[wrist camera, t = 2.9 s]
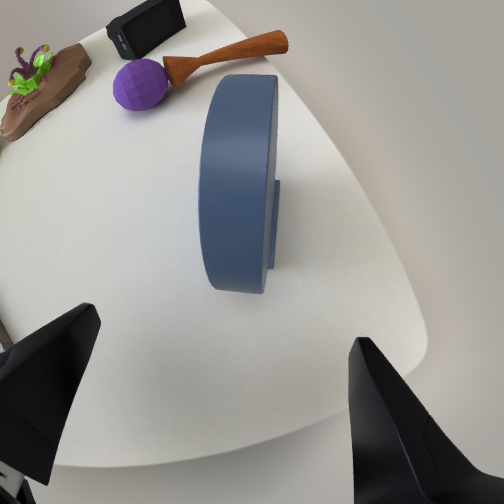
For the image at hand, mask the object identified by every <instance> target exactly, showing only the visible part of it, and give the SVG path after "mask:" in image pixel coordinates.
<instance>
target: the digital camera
mask: <svg viewBox="0 0 504 504" xmlns="http://www.w3.org/2000/svg"><path fill="white" fill-rule="evenodd" d="M184 27H186V24H185V21H184V17H183V13H182V10H181V6H180V2H179V0H147V1H145V2H143V3H142V4H140V5H138V6H137V7H135V8H134V9H132V10H130V11H128V12H127V13H125V14H124V15H122V16H119V17H116V18H115V19H113V20H112V21H111V22H110V24H109V25H107V26H106V29H107V35H108V37H109V39H110V40H112V41H113V43H114V45H115V47H116V49H117V51H118V53H119V55H120V57H121V58H122V59H127V60H133V61H134V60H137V59H141V58H142V57H143V56H145V55H146V54H147V53H148V52H150V51H151V50H152V49H154V48H155V47H157V46H158V45H159V44H161V43H162V42H163V41H165V40H166V39H168V38H169V37H171V36H172V35H174V34H175V33H177V32H178V31H180V30H181V29H183V28H184Z"/></svg>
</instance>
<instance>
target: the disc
mask: <svg viewBox="0 0 504 504" xmlns="http://www.w3.org/2000/svg"><path fill="white" fill-rule="evenodd" d="M277 129H278V78H277V76H276V75H253V74H235V75H227V76H225V77H224V78H223V79H222V80H221V81H220V83H219V84H218V86H217V88H216V90H215V93H214V95H213V98H212V101H211V104H210V107H209V111H208V115H207V119H206V124H205V129H204V135H203V141H202V148H201V157H200V168H199V184H198V214H199V232H200V243H201V250H202V256H203V261H204V266H205V270H206V273H207V276H208V279H209V281H210V283H211V285H212V286H213V287H214V288H215V289H217V290H225V291H234V292H244V293H255V294H263V292H264V288H265V282H266V275H267V269H273V267H274V256H275V244H276V231H277V218H278V205H279V191H280V181H279V180H275V170H276V152H277Z"/></svg>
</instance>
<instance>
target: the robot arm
mask: <svg viewBox="0 0 504 504" xmlns="http://www.w3.org/2000/svg"><path fill="white" fill-rule="evenodd" d="M100 326H101V320H100V318H99V315H98V313H97V310H96V308H95V306H94V305H93V304H90V303H82V304H80V305H78V306H77V307H75V308H73V309H72V310H70V311H68V312H67V313H65V314H63V315H61V316H60V317H58V318H56V319H55V320H53V321H51V322H50V323H48V324H46V325H45V326H43V327H42V328H40V329H38V330H37V331H35V332H33V333H32V334H30V335H29V336H27V337H25V338H24V339H22V340H21V341H19V342H17V343H16V344H14V346H11V347H9V348H8V349H6V350H5V351H3V352H2V353H0V504H36V503H35V500H34V498H33V495H32V492H31V489H30V487H29V484H28V481H27V480H26V479H25V478H24V477H25V475H26V476H28V477H30V478H31V479H33V480H35V481H37V482H40V483H42V484H44V485H46V486H47V485H48V483H49V479H50V475H51V470H52V467H53V463H54V459H55V456H56V452H57V449H58V445H59V441H60V438H61V435H62V432H63V429H64V426H65V423H66V420H67V417H68V414H69V411H70V408H71V405H72V403H73V400H74V397H75V394H76V392H77V389H78V387H79V384H80V382H81V379H82V377H83V374H84V372H85V369H86V367H87V364H88V362H89V359H90V356H91V353H92V350H93V347H94V344H95V341H96V338H97V335H98V332H99V329H100ZM348 361H349V391H348V400H349V412H350V424H351V436H352V451H353V475H354V504H504V479H503V478H500V477H496V476H492V475H488V474H485V473H483V472H481V471H480V470H478V469H477V468H476V467H474V466H473V465H472V464H471V462H470V461H469V460H468V459H467V458H466V457H465V456H464V455H463V454H462V453H461V451H460V450H459V449H458V448H457V447H456V446H455V445H454V444H453V443H452V442H451V440H450V439H449V438H448V437H447V436H446V435H445V434H444V432H443V431H442V430H441V428H440V427H439V426H438V425H437V423H436V422H435V421H434V419H433V418H432V417H431V415H429V413H428V411H427V410H426V409H425V407H424V406H423V405H422V403H421V402H420V401H419V399H418V398H417V397H416V395H415V394H414V393H413V392H412V390H411V389H410V388H409V386H408V385H407V384H406V383H405V381H404V380H403V379H402V377H401V376H400V375H399V374H398V372H397V371H396V370H395V369H394V367H393V366H392V365H391V363H390V362H389V361H388V360H387V358H386V357H385V356H384V355H383V353H382V352H381V351H380V350H379V349H378V347H377V346H376V345H375V344H374V342H373V341H372V340H371V339H370V338H369V337H357V338H356V339H355V341H354V344H353V346H352V348H351V351H350V353H349V359H348Z"/></svg>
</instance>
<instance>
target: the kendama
mask: <svg viewBox="0 0 504 504" xmlns="http://www.w3.org/2000/svg"><path fill="white" fill-rule="evenodd" d="M288 46H289V45H288V40H287V37H286V36H285V34H284V33H283V32H282V31H280V30H276V31H273V32H269V33H265V34H262V35H258V36H255V37H252V38H249V39H246V40H243V41H240V42H237V43H234V44H231V45H228V46H226V47H223V48H220V49H218V50H215V51H213V52H210V53H208V54H205V55H203V56H201V57H198V58H196V57H173V56H163V63H164V68H165V69H164V68H163V67H162V66H161V65H160V64H159V63H158V62H156V61H153V60H150V59H137V60H134V61H132V62H130V63H128V64H126V65H125V66H124V67H123V68H122V69H121V70H120V71H119V72H118V74H117V76H116V78H115V80H114V82H113V94H114V97H115V99H116V101H117V102H118V103H119V104H120V105H121V106H122V107H124V108H125V109H129V110H132V111H142V110H147V109H149V108H151V107H153V106H155V105H156V104H157V103H158V102H159V101H160V100H161V99H162V98H163V97H164V95H165V92H166V90H167V88H168V79H169V81H170V83H171V84H172V86H173V88H174V89H176V88H177V87H178V86H179V85H180V84H181V83H182V82H183V81H184V80H185V79H187V78H188V77H189V76H190V75H191V74H192V73H193V72H194V71H196V70H197V69H198V68H199V67H200V66H203V65H208V64H212V63H218V62H223V61H229V60H234V59H241V58H248V57H255V56H264V55H273V54H284V53H286V52H287V51H288Z"/></svg>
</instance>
